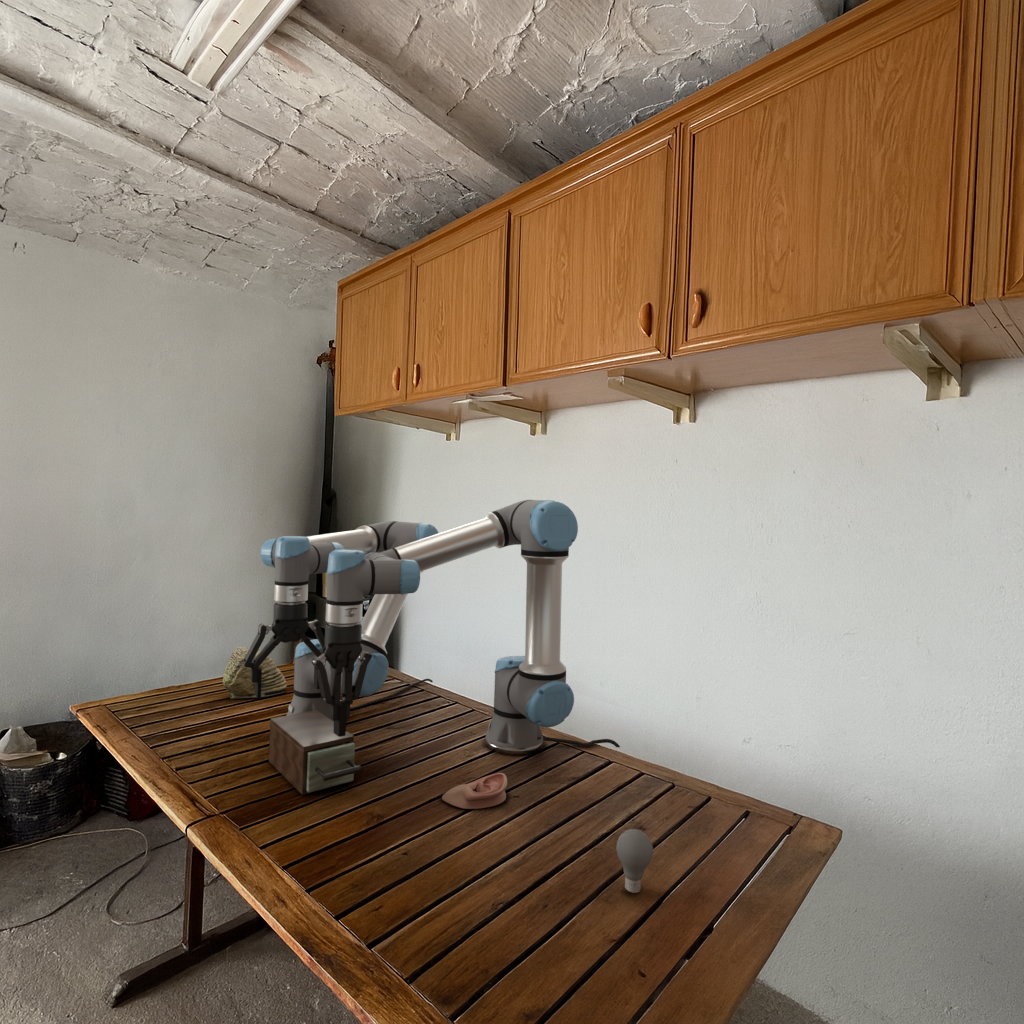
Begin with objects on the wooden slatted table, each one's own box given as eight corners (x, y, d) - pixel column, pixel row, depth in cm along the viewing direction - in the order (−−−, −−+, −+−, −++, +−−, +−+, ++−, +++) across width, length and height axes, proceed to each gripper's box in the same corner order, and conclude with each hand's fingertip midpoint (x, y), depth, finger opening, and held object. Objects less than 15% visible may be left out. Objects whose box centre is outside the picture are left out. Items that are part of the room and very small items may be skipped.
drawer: (365, 790, 136) (366, 752, 135) (319, 803, 129) (320, 763, 129) (318, 751, 155) (319, 718, 154) (276, 761, 148) (277, 726, 148)
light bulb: (610, 879, 108) (613, 822, 108) (644, 879, 109) (647, 822, 109) (619, 902, 102) (622, 840, 102) (655, 901, 103) (658, 840, 103)
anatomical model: (437, 786, 132) (453, 764, 143) (436, 805, 132) (453, 781, 143) (499, 795, 129) (511, 771, 140) (499, 814, 129) (510, 789, 141)
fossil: (218, 695, 195) (220, 647, 195) (278, 685, 208) (279, 640, 207) (228, 703, 189) (230, 653, 188) (289, 692, 201) (290, 645, 201)
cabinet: (352, 781, 142) (354, 736, 141) (302, 794, 134) (303, 747, 134) (315, 750, 157) (316, 709, 157) (268, 761, 150) (270, 718, 150)
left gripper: (237, 608, 139) (234, 704, 139) (348, 601, 153) (345, 688, 153) (230, 602, 145) (228, 694, 145) (337, 596, 159) (334, 680, 159)
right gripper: (321, 629, 127) (316, 746, 127) (380, 623, 135) (375, 733, 135) (306, 622, 132) (302, 734, 133) (363, 617, 141) (359, 722, 141)
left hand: (288, 691), depth 149 cm, fingers open, 13 cm apart
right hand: (339, 733), depth 134 cm, fingers closed
